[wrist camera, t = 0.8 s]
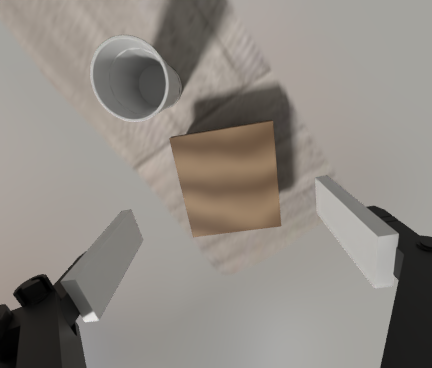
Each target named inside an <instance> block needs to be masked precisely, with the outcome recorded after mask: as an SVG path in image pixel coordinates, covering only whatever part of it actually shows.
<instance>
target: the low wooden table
mask: <svg viewBox="0 0 432 368" xmlns="http://www.w3.org/2000/svg"><path fill="white" fill-rule="evenodd" d="M169 139H170V143H171V147H172V152H173V156H174V160H175V164H176V168H177V172H178V176H179V181H180V185H181V189H182V193H183V197H184V201H185V205H186V210H187V214H188V218H189V222H190V226H191V230H192V234H193V237H198V236H206V235H214V234H222V233H230V232H238V231H246V230H254V229H262V228H270V227H278V226H281V218H280V205H279V192H278V179H277V166H276V153H275V140H274V127H273V121H272V120H267V121H262V122H256V123H250V124H244V125H238V126H232V127H226V128H220V129H214V130H208V131H202V132H197V133H191V134H185V135H179V136H173V137H171V138H169Z"/></svg>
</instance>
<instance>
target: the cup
mask: <svg viewBox="0 0 432 368" xmlns="http://www.w3.org/2000/svg"><path fill="white" fill-rule="evenodd" d="M90 78H91V84H92V87H93V90H94V93H95V95H96V97H97V99H98V100H99V102H100V103H101V104H102V106H103V107H104V108H105V109H106V110H107V111H108V112H110V113H111V114H112V115H114V116H115V117H117V118H119V119H122V120H125V121H130V122H140V121H145V120H148V119H150V118H152V117H153V116H155V115H156V114H158V113H160V112H161V111H162V110H164V109H166V108H170V107H172V106H173V105H175V104H176V103H177V101H178V100H179V98H180V96H181V92H182V84H181V80H180V77H179V75H178V74H177V72H176V71H175V70H174V69H173V68H172V67H170V66H169V65H168V64H167V63H166V62H165V61H164V59H163V58H162V57H161V56H160V55H159V53H158V52H157V51H156V50H155V49H154V48H153V47H152V46H151V45H150V44H149V43H147V42H146V41H144V40H142V39H140V38H138V37H135V36H130V35H118V36H114V37H111V38H109V39H107V40H106V41H104V42H103V43H102V44H101V45H100V46H99V47H98V49H97V50H96V52H95V54H94V56H93V58H92V62H91V67H90Z"/></svg>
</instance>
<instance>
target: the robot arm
mask: <svg viewBox="0 0 432 368" xmlns="http://www.w3.org/2000/svg"><path fill="white" fill-rule="evenodd" d="M315 184H316V206H317V214H318V215H319V216H320V218H321V219H322V220H323V222H324V223H325V224H326V226H327V227H328V228H329V230H330V231H331V232H332V233H333V235H334V236H335V237H336V239H337V240H338V241H339V243H340V244H341V245H342V247H343V248H344V249H345V251H346V252H347V253H348V254H349V256H350V257H351V258H352V260H353V261H354V262H355V264H356V265H357V266H358V268H359V269H360V270H361V272H362V273H363V274H364V275H365V277H366V278H367V279H368V281H369V282H370V283H371V285H372V286H373V287H374V288H381V287H391V286H393V281H394V276H395V277H396V278H397V279H398V280H399V282H398V286H397V291H396V296H395V300H394V305H393V310H392V315H391V320H390V324H389V329H388V334H387V338H386V343H385V348H384V353H383V358H382V362H381V368H432V237H429V236H420V235H418V234H417V233H415V232H414V231H413V230H411V229H410V228H409V227H407V226H406V225H405V224H403V223H401V222H400V221H398V219H396V218H395V217H394V216H392V215H391V214H390V213H388V212H387V211H385V210H384V209H381V208H378V207H376V206H369V207H365V206H364V205H363V204H362V203H360V202H359V201H358V200H357V199H355V198H354V197H353V196H352V195H350V194H349V193H348V192H347V191H346V190H344V189H343V188H342V187H341V186H340V185H338V184H337V183H336V182H335V181H333V180H332V179H331V178H330V177H328V176H327V175H326V176H320V177H315ZM142 242H143V238H142V235H141V233H140V230H139V228H138V225H137V223H136V220H135V218H134V215H133V213H132V210H131V209H130V210H125V211H121V212H120V213H119V215H118V216H117V217H116V218H115V219H114V220H113V221H112V223H111V224H110V225H109V226H108V227H107V228H106V229H105V231H104V232H103V233H102V234H101V235H100V236H99V238H98V239H97V240H96V241H95V242H94V243H93V244H92V246H91V247H90V248H89V249H88V251H86V252H85V253H84V254H82V255H81V256H79V257H78V258H77V260H76V261H75V262H74V263H73V265H71V266H70V267H69V268H68V270H67V271H66V272H65V273H64V274H63V275H62V276H61V278H60V279H59V280H58V281H57V282H56V283H55V284H54V285H52V283H51V282H50V280H49V279H48V277H47V275H44V274H42V275H37V276H35V277H32V278H31V279H29V280H27V281H26V282H24V283H22V284H21V285H20V286H19V287H18V288H17V289H16V290H15V292H14V293H13V295H14V296H15V297H16V299H17V300H18V302H19V303H20V304H21V306H22V307H20V308H17V309H15V310H12V311H10V309H9V308H8V307H7V306H6V305H5V304H2V305H0V368H86V363H85V357H84V352H83V347H82V342H81V336H80V331H79V326H78V324H77V323H76V319H77V318H78V316H79V315H81V316H82V318H83V319H84V321H85V322H92V321H99V320H100V318H101V316H102V314H103V312H104V311H105V309H106V307H107V305H108V303H109V302H110V300H111V298H112V296H113V294H114V292H115V291H116V289H117V287H118V285H119V283H120V282H121V280H122V278H123V276H124V274H125V272H126V271H127V269H128V267H129V265H130V263H131V262H132V260H133V258H134V256H135V254H136V252H137V251H138V249H139V247H140V245H141V243H142Z"/></svg>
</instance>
